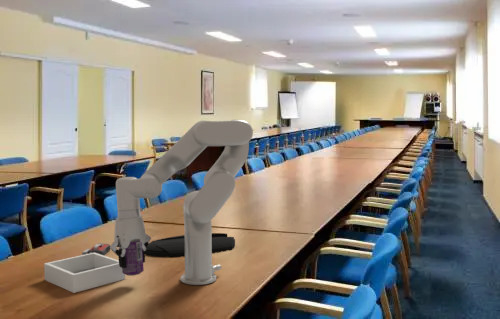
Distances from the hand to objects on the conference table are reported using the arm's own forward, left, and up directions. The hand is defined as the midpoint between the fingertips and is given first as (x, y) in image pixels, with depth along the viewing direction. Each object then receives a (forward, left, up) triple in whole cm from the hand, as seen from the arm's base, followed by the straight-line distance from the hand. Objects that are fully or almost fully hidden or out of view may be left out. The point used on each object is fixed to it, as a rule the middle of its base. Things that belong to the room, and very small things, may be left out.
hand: (132, 264), depth 184 cm
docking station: (-46, -24, -8) cm, 52 cm away
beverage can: (0, 0, -3) cm, 3 cm away
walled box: (+8, -18, -7) cm, 21 cm away
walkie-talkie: (-12, -44, -8) cm, 46 cm away
